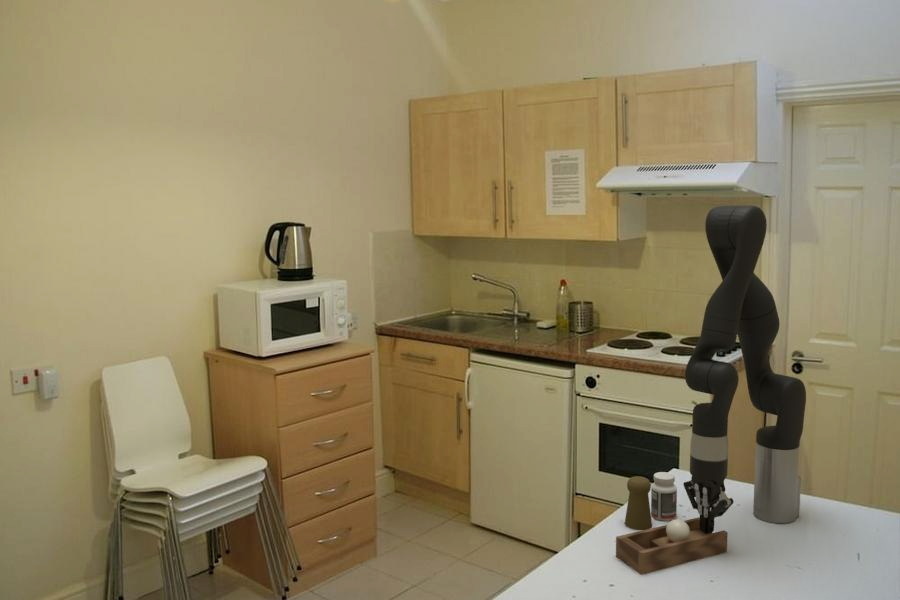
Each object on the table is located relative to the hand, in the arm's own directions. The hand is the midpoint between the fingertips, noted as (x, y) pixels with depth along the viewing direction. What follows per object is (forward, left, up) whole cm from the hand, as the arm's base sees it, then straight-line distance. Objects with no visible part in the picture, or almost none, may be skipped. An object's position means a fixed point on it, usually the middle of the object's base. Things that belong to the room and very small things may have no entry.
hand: (706, 532), depth 167 cm
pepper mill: (+6, -15, -3) cm, 17 cm away
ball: (+8, 0, +2) cm, 8 cm away
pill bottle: (-2, -16, -3) cm, 16 cm away
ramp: (+9, 0, -3) cm, 10 cm away
